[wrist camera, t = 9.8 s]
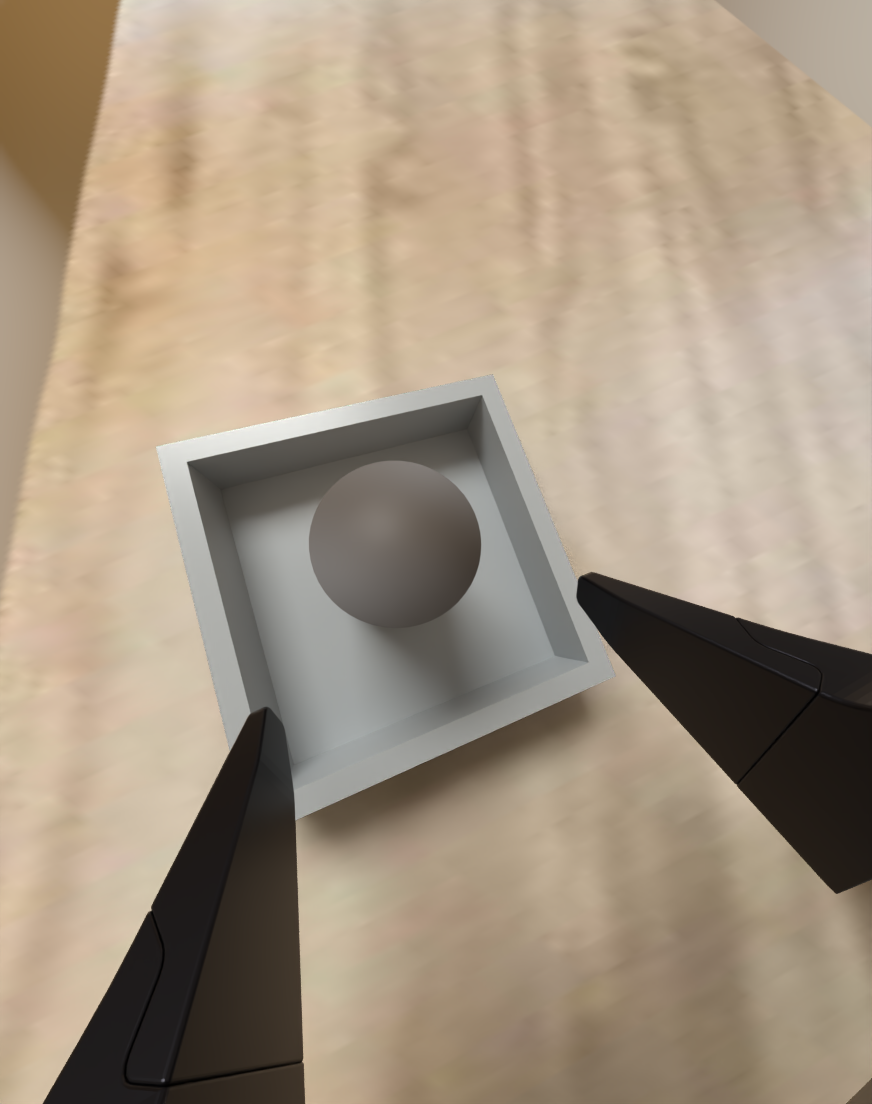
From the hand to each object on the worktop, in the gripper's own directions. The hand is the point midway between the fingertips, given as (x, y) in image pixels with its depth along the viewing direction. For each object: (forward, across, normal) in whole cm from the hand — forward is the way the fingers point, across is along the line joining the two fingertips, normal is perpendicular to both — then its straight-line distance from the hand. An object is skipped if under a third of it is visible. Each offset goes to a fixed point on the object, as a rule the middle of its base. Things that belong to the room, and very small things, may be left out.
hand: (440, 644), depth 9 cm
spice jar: (+8, 0, +4) cm, 9 cm away
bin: (+9, 0, +4) cm, 10 cm away
